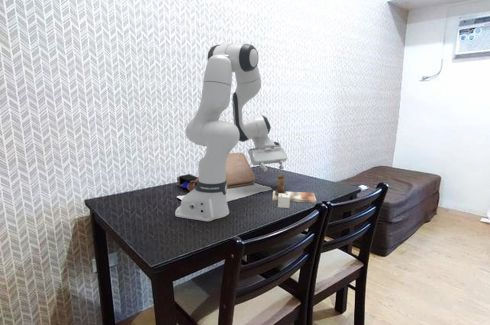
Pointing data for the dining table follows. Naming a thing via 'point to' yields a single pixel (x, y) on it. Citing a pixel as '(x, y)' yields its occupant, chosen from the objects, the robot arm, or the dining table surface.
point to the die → (283, 200)
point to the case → (238, 171)
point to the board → (298, 197)
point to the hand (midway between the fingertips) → (274, 169)
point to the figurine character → (186, 181)
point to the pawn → (280, 185)
